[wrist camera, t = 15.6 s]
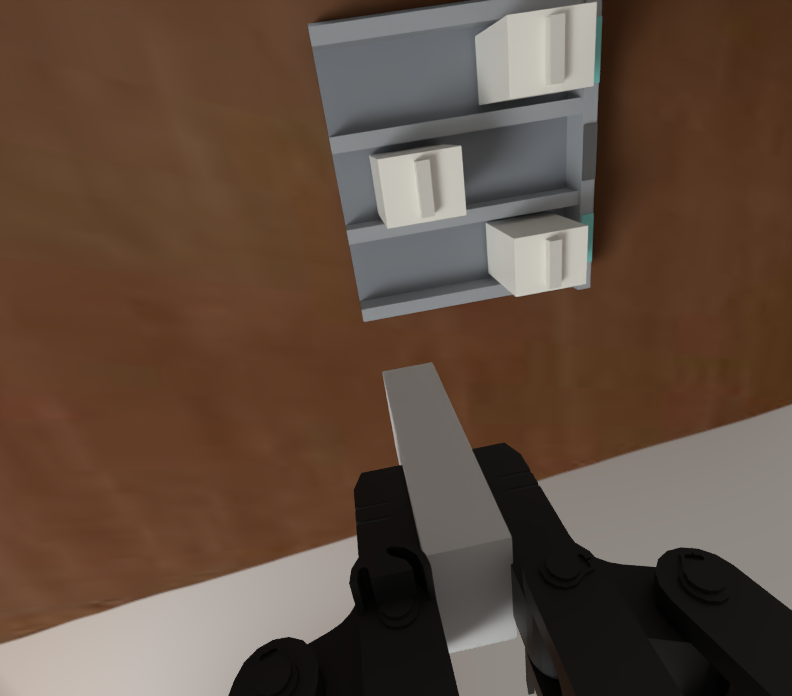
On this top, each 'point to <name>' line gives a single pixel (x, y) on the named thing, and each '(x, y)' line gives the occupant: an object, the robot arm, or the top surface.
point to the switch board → (453, 125)
